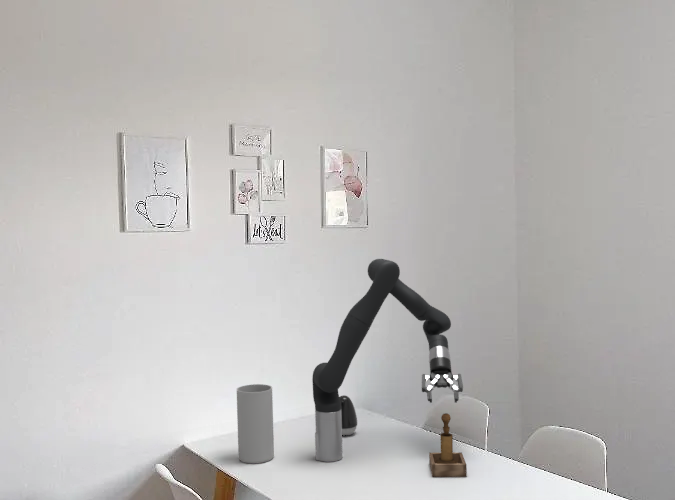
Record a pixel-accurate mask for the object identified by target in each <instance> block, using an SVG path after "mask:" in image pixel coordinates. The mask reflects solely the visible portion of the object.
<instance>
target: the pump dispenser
mask: <svg viewBox="0 0 675 500" xmlns="http://www.w3.org/2000/svg"><path fill="white" fill-rule="evenodd" d="M339 398H340V401H341V415H342V435H343V436H342V437H346V436H345V435H348V436H350V435H352V434H354V433H355V431H356V429H357V427H358V417H357V413H356V409H355V406H354V403H353V401H352V399H351V398H350V397H349V396H348V395H345V394H344V395H340V396H339Z"/></svg>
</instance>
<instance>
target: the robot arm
mask: <svg viewBox="0 0 675 500" xmlns="http://www.w3.org/2000/svg"><path fill="white" fill-rule="evenodd" d="M400 273H401V272H400V267H399V265H398V263H397V262H396V261H394V260H389V259H384V258H376V259H373V260H372V261H371V262H370V263H369V264H368V267H367V275H368V278H369V279H370V280H371V281H372V283H371V285H370V287H369V289H368V290H367V292H366V293H365V295H364V296H363V297H361V299H359V300H358V301H357V302H356V303H355V304H354V305H353V306H352V307H351V309H350V310H349V311H348V313H347V315H346V317H345V318H344V320H343V322H342V324H341V327H340V329H339V333H338V336H337V341H336V345H335V348H334V350H333V352H332V353H331V354H332V355H331V356H330V358H329V360H328V361H327V362H320V363H319V364H317V365H316V366H315V368H314V369H313V371H312V379H311V380H312V381H311V382H312V396H313V402H314V415H315V417H314V418H315V432H314V438H315V439H314V445H315V446H314V447H315V449H314V450H315V461H319V462H325V463H327V462H329V463H330V462H337V461H338V462H339V461H340V460H342V459H343V436H342V415H341V401H340V398H339V397H340V396H339V395H340V394H339V389H340V388H341V386H342V384H343V382H344V380H345V377H346V375H347V373H348V370H349V369H350V366H351V364H352V361H353V359H354V357H355V356H356V354H357V352H358V350H359V348H360V347H361V345H362V343H363V341H364V339H365V338H366V336H367V335H368V333H369V331H370V328H371V327H372V324H373V322H374V320H375V318H376V316H377V315H378V313H379V312H380V309H381V308H382V306H383V303H384V302H385V301H386V298H388V296H389V294H390V295H391V296H393V297H394V298H395V299H396V300H397V301H398V302H399V303H400V304H401V305H402V306H404V308H405V309H407V311H409V313H411V315H412V316H413V317H415V318H416V319H417V320H418V321H419V322H420V321H421V322H423V321H424V322H423V324H422V330H423V332H424V335H425V337H426V340H427V342H428V351H429V353H428V354H429V355H428V362H429V373H430V374H429V375H426V373H422V374H421V392H422V393H426V396H427V401H428V402H429V403H430V404H431V403H433V396H432V395H433V394H432V391H433V390H435V389H436V388H437V389H440V388H444V389H446V388H448V389H449V390H451V391H452V392H453V397H454V403H458V402H459V399H460V396H459V393H462V392H463V391H464V383H463V379H462V374H461V373H458V374H456V375H454V374H453V373H452V372H453V371H452V363H451V355H450V350H449V342H448V338H447V337H446V336H445V335H444V334H442V333H445V332H447V331H449V330H450V329H451V327H452V321H451V319H450V318H449V316H448V315H447V314H446V313H445V312H443V311H442V310H440V309H438V308H436V307H434V306H432V305H430V304H429V303H428V302H427V301H426V299H425V298H423V296H421V295H420V294H419V293H417V292H416V291H415V290H414V289H412V288H411V287H409V286H408V285H406V283H404V282H403V281H402V280H400ZM428 380H429V381H430V383H429V384H428V386H426V383H427V382H428ZM453 380H455V382H457V385H458V386H457V385H456V384H455V382H454V381H453Z"/></svg>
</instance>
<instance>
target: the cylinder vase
mask: <svg viewBox="0 0 675 500" xmlns="http://www.w3.org/2000/svg"><path fill="white" fill-rule="evenodd" d="M273 402H274V400H273V387H272V386H271V385H269V384H259V383H257V384H255V383H254V384H246V385H241V386H238V387H237V388H236V409H237V410H236V412H237V413H236V414H237V418H236V419H237V444H238V445H237V447H238V452H237V453H238V459H239V460H240V461H241V462H242V463H244V464H245V463H246V464H255V465H256V464H262V463H266V462H269V461H271V460H272V459H274V457H275V443H274V440H275V439H274V437H275V436H274V408H273V407H274V403H273Z"/></svg>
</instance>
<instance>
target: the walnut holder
mask: <svg viewBox="0 0 675 500" xmlns="http://www.w3.org/2000/svg"><path fill="white" fill-rule="evenodd" d="M428 457H429V461H428V463H429V468H430V472H431V473H430V474H431V478H467V476H468V474H467V472H468V471H467V463H466V459H465V457H464V455H463V452H459V451H458V452H453V458H454V459H455V460H456V461H457V464H437V460H438V459H439V458H440V457H441V452H429V453H428Z"/></svg>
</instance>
